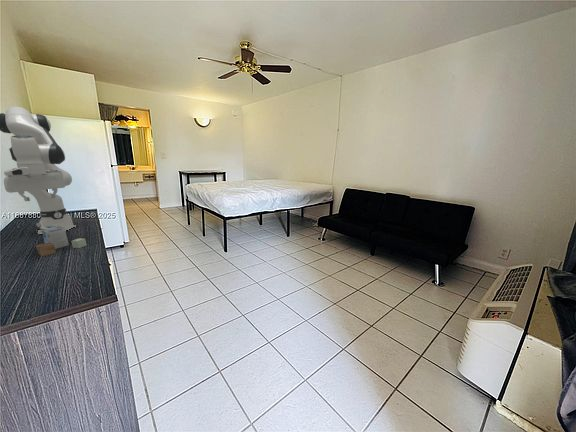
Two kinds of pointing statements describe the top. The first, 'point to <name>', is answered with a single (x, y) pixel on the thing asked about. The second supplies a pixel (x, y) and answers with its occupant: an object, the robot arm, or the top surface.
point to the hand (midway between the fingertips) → (41, 199)
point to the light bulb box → (55, 235)
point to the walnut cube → (46, 249)
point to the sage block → (79, 243)
